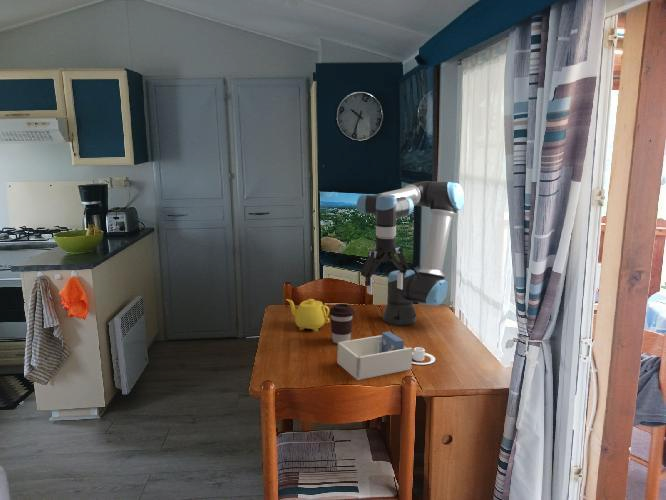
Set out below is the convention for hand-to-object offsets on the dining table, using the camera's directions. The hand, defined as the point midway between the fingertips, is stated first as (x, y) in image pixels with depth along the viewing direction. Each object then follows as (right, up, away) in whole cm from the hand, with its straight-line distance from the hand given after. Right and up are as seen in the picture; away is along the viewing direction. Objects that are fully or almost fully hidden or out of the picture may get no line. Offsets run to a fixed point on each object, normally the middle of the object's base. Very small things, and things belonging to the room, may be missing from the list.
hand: (385, 291), depth 210 cm
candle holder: (+13, -26, -3) cm, 29 cm away
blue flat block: (+2, -25, -7) cm, 26 cm away
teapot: (-31, -18, +30) cm, 47 cm away
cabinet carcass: (-5, -27, -10) cm, 29 cm away
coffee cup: (-17, -22, +14) cm, 31 cm away
